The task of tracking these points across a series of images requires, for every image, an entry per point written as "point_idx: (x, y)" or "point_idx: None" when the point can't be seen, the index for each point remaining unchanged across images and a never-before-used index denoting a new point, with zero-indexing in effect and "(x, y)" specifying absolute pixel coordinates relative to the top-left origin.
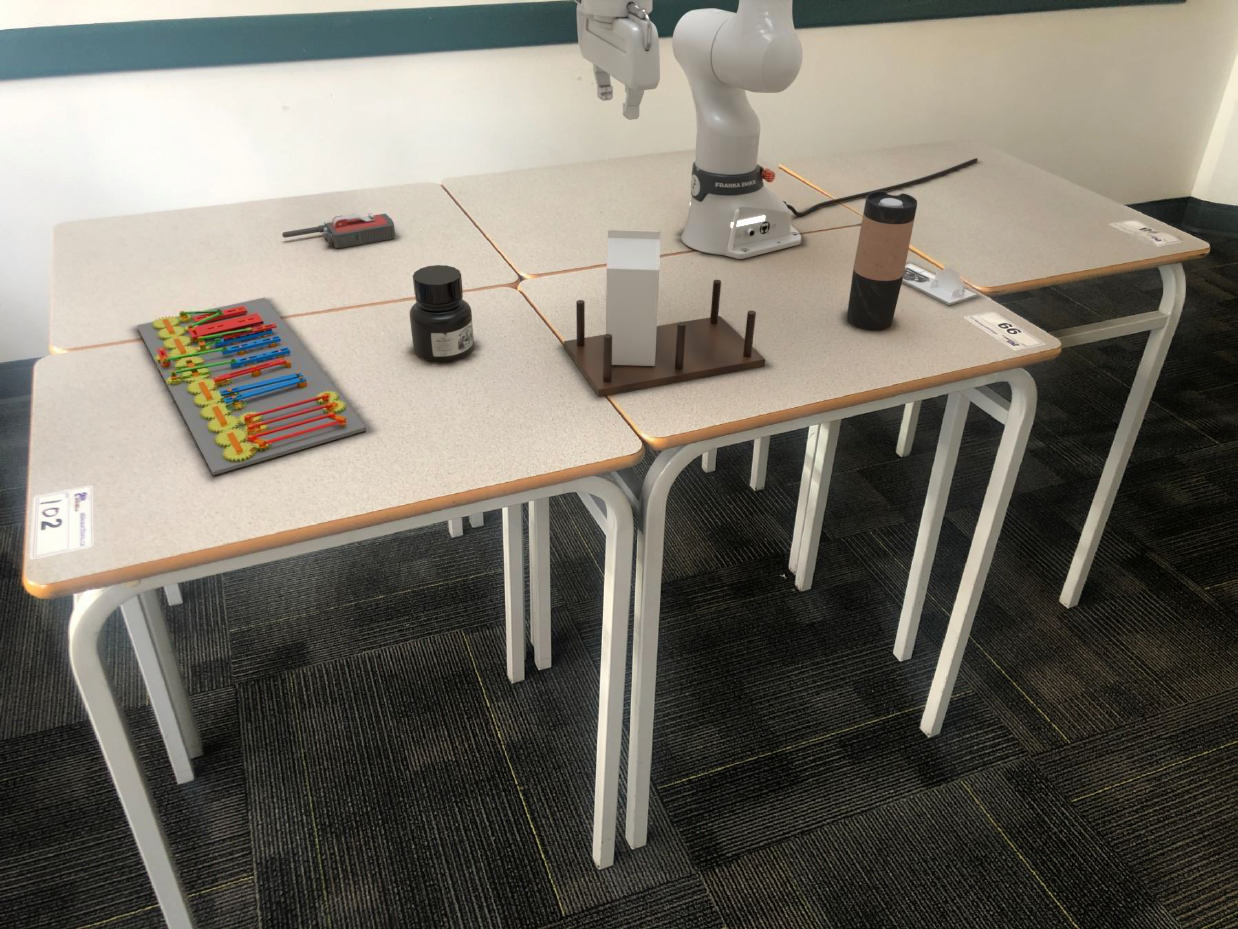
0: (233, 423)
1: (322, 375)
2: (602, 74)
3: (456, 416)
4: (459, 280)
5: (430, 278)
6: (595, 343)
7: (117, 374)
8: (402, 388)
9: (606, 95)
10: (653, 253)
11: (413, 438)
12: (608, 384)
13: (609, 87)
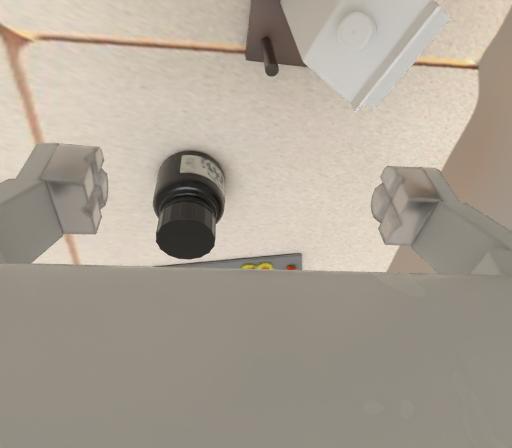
0: None
1: (208, 265)
2: (3, 248)
3: (319, 199)
4: (204, 221)
5: (194, 247)
6: (273, 20)
7: None
8: (250, 222)
9: (95, 180)
10: (432, 23)
11: (329, 231)
12: None
13: (88, 195)
